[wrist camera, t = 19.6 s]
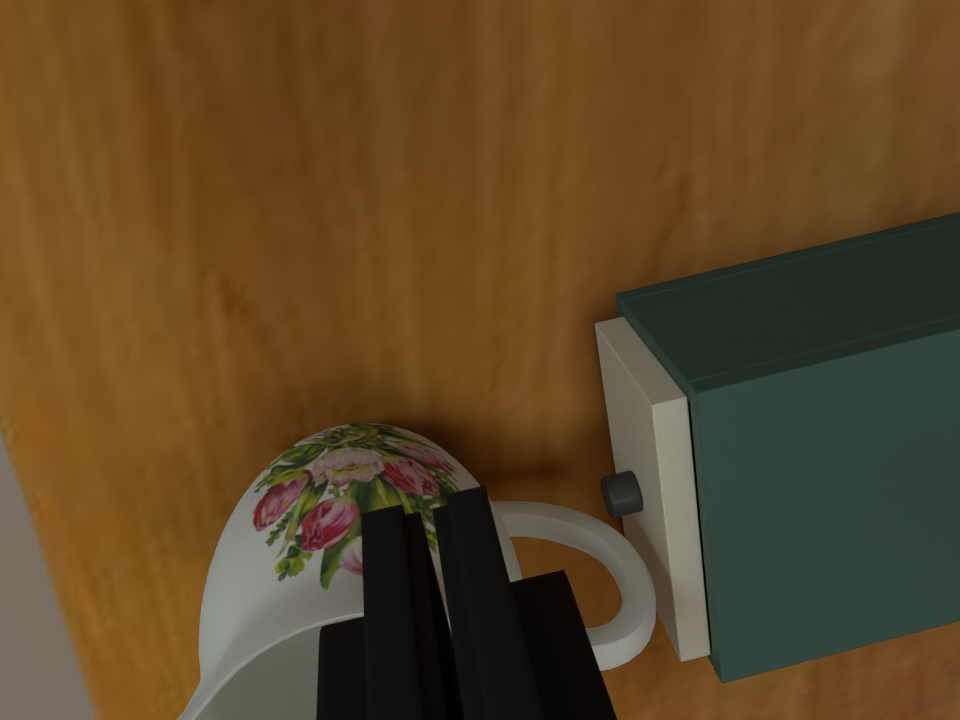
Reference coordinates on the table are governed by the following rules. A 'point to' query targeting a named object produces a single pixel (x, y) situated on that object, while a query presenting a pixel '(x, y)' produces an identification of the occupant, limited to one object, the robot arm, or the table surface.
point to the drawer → (655, 481)
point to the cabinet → (821, 440)
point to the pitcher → (357, 565)
